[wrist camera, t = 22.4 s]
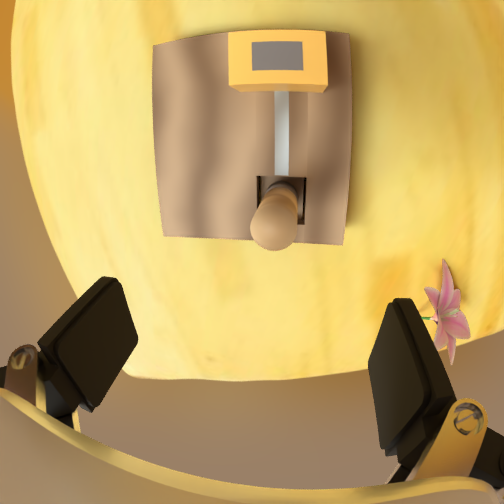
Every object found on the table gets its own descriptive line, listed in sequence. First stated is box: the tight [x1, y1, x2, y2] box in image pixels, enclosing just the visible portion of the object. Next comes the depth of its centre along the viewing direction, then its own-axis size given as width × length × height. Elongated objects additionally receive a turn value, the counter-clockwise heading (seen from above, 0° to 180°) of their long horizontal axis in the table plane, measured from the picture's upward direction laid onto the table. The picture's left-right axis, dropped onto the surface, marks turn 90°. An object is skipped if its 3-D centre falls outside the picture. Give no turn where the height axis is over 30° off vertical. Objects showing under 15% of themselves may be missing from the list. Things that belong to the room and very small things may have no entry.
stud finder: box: [228, 30, 328, 93], centre depth 17 cm, size 7×4×4 cm, turn 91°
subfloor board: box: [152, 29, 352, 245], centre depth 24 cm, size 18×20×4 cm
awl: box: [250, 181, 298, 251], centre depth 21 cm, size 3×3×9 cm
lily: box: [421, 259, 470, 365], centre depth 27 cm, size 12×12×10 cm
